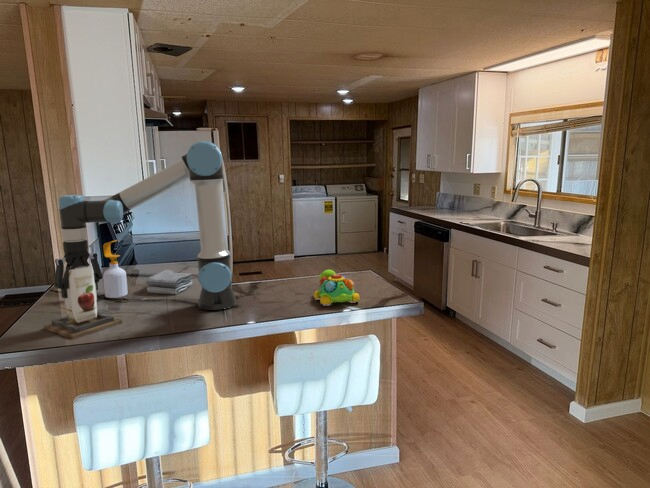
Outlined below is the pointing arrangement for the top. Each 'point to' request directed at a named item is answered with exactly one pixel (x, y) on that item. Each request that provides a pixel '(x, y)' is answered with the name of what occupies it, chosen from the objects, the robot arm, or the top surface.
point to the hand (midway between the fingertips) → (81, 302)
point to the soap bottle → (114, 276)
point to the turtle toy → (335, 288)
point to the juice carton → (82, 294)
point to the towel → (169, 282)
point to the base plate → (81, 325)
